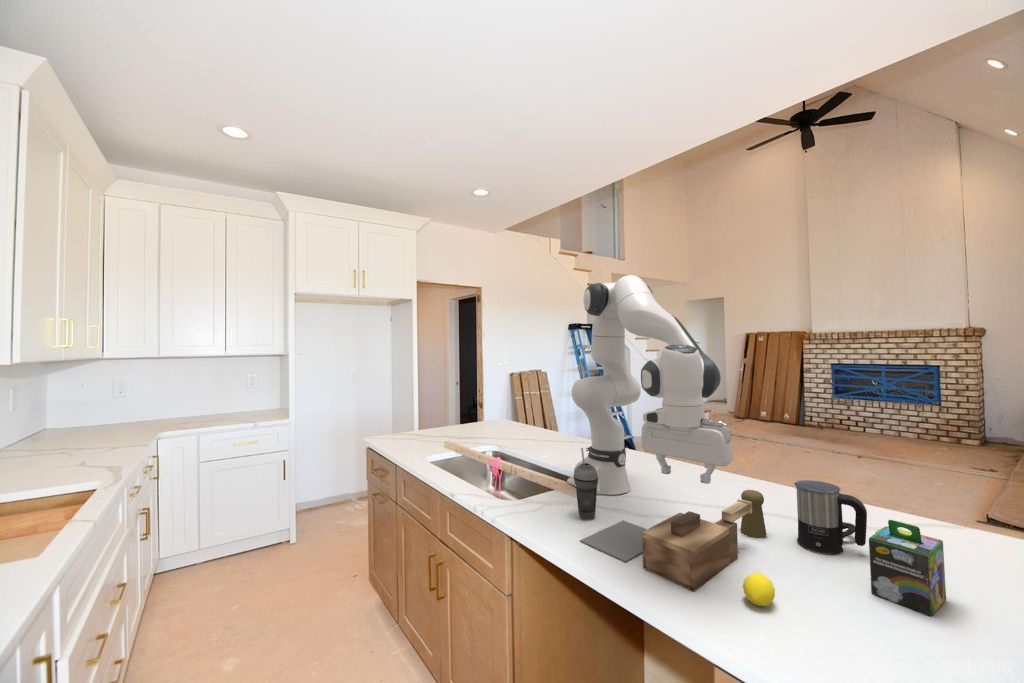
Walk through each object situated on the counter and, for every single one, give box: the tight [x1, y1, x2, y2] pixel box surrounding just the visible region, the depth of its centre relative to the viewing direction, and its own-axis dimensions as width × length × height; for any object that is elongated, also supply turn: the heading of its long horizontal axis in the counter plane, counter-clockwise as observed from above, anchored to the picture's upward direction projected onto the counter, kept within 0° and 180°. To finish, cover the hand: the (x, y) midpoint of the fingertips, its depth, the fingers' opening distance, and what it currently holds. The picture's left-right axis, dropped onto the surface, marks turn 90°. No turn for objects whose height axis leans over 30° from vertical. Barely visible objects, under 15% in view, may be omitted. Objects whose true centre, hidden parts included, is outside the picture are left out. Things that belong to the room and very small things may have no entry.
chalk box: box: [868, 519, 947, 617], centre depth 84 cm, size 9×9×15 cm
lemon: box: [742, 572, 776, 607], centre depth 83 cm, size 7×5×5 cm
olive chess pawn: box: [739, 489, 768, 539], centre depth 112 cm, size 6×6×11 cm
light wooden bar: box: [721, 498, 752, 523], centre depth 103 cm, size 3×10×3 cm, turn 129°
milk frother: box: [793, 479, 868, 555], centre depth 107 cm, size 14×16×15 cm
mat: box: [579, 520, 648, 564], centre depth 110 cm, size 14×18×1 cm
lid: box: [642, 510, 729, 557], centre depth 97 cm, size 12×16×5 cm
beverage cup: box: [573, 447, 599, 521], centre depth 125 cm, size 7×7×20 cm
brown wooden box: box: [642, 518, 739, 592], centre depth 98 cm, size 12×20×8 cm, turn 129°
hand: (685, 478), depth 97 cm, fingers open, 8 cm apart
